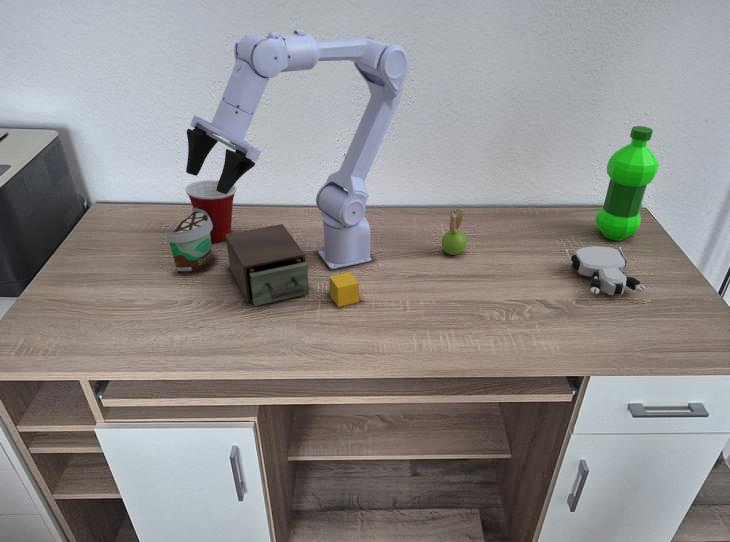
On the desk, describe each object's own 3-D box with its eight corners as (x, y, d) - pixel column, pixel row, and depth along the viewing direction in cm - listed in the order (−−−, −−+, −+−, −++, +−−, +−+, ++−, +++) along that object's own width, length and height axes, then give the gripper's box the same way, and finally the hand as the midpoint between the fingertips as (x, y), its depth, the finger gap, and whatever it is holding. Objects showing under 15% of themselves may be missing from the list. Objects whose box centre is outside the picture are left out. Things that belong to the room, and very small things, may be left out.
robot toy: (644, 302, 124) (614, 260, 135) (651, 284, 121) (620, 242, 132) (586, 305, 122) (560, 262, 134) (592, 287, 119) (565, 244, 131)
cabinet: (307, 289, 123) (305, 254, 118) (248, 302, 119) (243, 266, 114) (285, 257, 133) (282, 223, 129) (230, 268, 129) (225, 234, 124)
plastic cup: (252, 233, 142) (246, 184, 135) (218, 252, 134) (210, 201, 127) (217, 221, 146) (210, 173, 139) (183, 239, 139) (173, 189, 132)
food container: (202, 281, 125) (194, 236, 119) (174, 277, 126) (165, 233, 120) (227, 252, 135) (221, 209, 129) (200, 248, 135) (193, 206, 130)
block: (350, 290, 123) (350, 271, 121) (359, 302, 120) (359, 282, 117) (329, 295, 122) (329, 276, 119) (338, 307, 118) (337, 287, 116)
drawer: (317, 306, 117) (315, 276, 113) (261, 319, 113) (258, 289, 109) (287, 262, 130) (285, 234, 126) (236, 272, 126) (233, 244, 122)
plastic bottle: (646, 240, 143) (679, 134, 129) (610, 248, 140) (639, 139, 125) (617, 222, 151) (645, 119, 136) (582, 229, 147) (606, 124, 133)
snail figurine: (435, 258, 134) (440, 207, 127) (444, 245, 139) (449, 195, 132) (459, 263, 133) (465, 212, 126) (468, 250, 138) (473, 200, 131)
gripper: (190, 84, 102) (160, 160, 105) (253, 116, 96) (219, 196, 99) (219, 98, 108) (190, 169, 111) (279, 129, 103) (247, 204, 106)
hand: (206, 183), depth 106 cm, fingers open, 7 cm apart
